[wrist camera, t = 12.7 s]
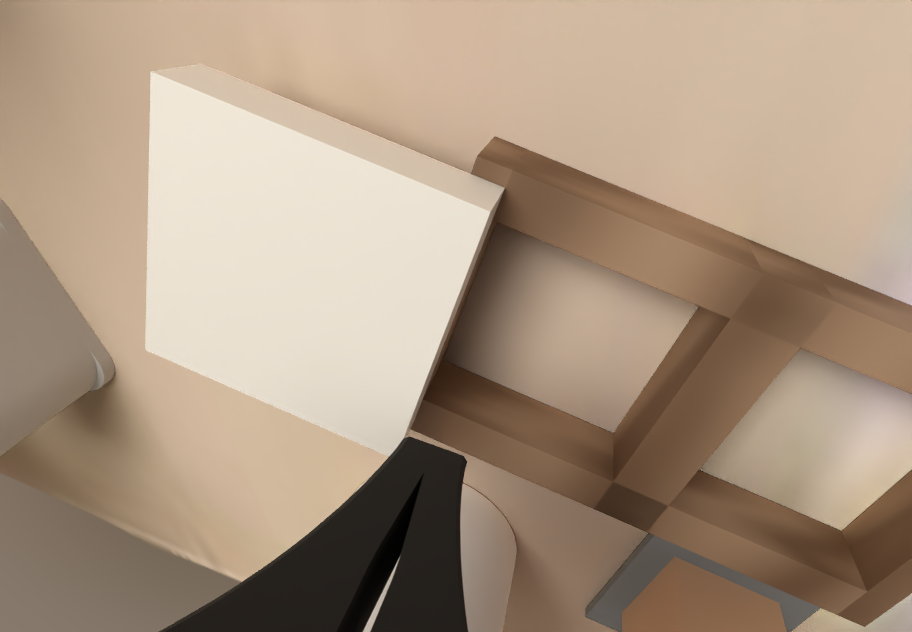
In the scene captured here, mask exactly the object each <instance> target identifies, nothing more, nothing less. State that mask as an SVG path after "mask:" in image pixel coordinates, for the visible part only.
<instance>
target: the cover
mask: <svg viewBox="0 0 912 632" xmlns="http://www.w3.org/2000/svg"><path fill="white" fill-rule="evenodd" d="M504 189H505V188H504V187H501V186H499V185H497V184H494V183H492V182H489V181H487V180H484V179H482V178H480V177H477V176H475V175H472V174H470V173H467V172H465V171H462V170H460V169H458V168H455V167H453V166H450V165H448V164H445V163H443V162H441V161H438V160H436V159H433V158H431V157H428V156H426V155H424V154H421V153H419V152H416V151H414V150H411V149H409V148H406V147H404V146H402V145H399V144H397V143H394V142H392V141H389V140H387V139H385V138H382V137H380V136H377V135H375V134H372V133H370V132H368V131H365V130H363V129H360V128H358V127H355V126H353V125H350V124H348V123H346V122H343V121H341V120H338V119H336V118H333V117H331V116H329V115H326V114H324V113H321V112H319V111H316V110H314V109H312V108H309V107H307V106H304V105H302V104H299V103H297V102H294V101H292V100H290V99H287V98H285V97H282V96H280V95H277V94H275V93H273V92H270V91H268V90H265V89H263V88H260V87H258V86H256V85H253V84H251V83H248V82H246V81H243V80H241V79H238V78H236V77H234V76H231V75H229V74H226V73H224V72H221V71H219V70H217V69H214V68H212V67H209V66H207V65H204V64H195V65H189V66H182V67H176V68H169V69H163V70H156V71H151V85H150V136H149V187H148V238H147V289H146V340H145V350H146V351H149V352H151V353H153V354H155V355H158V356H160V357H162V358H165V359H167V360H169V361H171V362H174V363H176V364H178V365H181V366H183V367H185V368H187V369H190V370H192V371H194V372H196V373H199V374H201V375H203V376H206V377H208V378H210V379H212V380H215V381H217V382H219V383H222V384H224V385H226V386H228V387H231V388H233V389H235V390H237V391H240V392H242V393H244V394H247V395H249V396H251V397H253V398H256V399H258V400H260V401H263V402H265V403H267V404H269V405H272V406H274V407H276V408H279V409H281V410H283V411H285V412H288V413H290V414H292V415H294V416H297V417H299V418H301V419H304V420H306V421H308V422H310V423H313V424H315V425H317V426H320V427H322V428H324V429H326V430H329V431H331V432H333V433H335V434H338V435H340V436H342V437H345V438H347V439H349V440H351V441H354V442H356V443H358V444H361V445H363V446H365V447H367V448H370V449H372V450H374V451H377V452H379V453H381V454H383V455H386V456H388V457H389V456H390V455H391V454H392V453H393V452H394V450H395V449H396V448H397V447H398V445H399V444H400V442H401V441H402V440H403V438H406V437H407V435H408V433H409V431H410V429H411V426H412V424H413V422H414V420H415V418H416V415H417V412H418V410H419V407H420V405H421V402H422V400H423V397H424V394H425V392H426V389H427V387H428V384H429V382H430V379H431V376H432V374H433V371H434V369H435V366H436V364H437V361H438V358H439V356H440V353H441V351H442V348H443V346H444V343H445V340H446V338H447V335H448V333H449V330H450V328H451V325H452V323H453V320H454V317H455V315H456V312H457V310H458V307H459V305H460V302H461V299H462V297H463V294H464V292H465V289H466V287H467V284H468V281H469V279H470V276H471V274H472V271H473V269H474V266H475V263H476V261H477V258H478V256H479V253H480V251H481V248H482V245H483V243H484V240H485V238H486V235H487V233H488V230H489V227H490V225H491V222H492V220H493V217H494V215H495V212H496V209H497V207H498V204H499V202H500V199H501V197H502V194H503V191H504Z"/></svg>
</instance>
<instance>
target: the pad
mask: <svg viewBox="0 0 912 632" xmlns="http://www.w3.org/2000/svg"><path fill="white" fill-rule="evenodd" d="M674 557H677V558H679V559H682V560H684V561H686V562H688V563H691V564H693V565H695V566H697V567H700V568H702V569H704V570H706V571H709V572H711V573H713V574H715V575H717V576H720V577H722V578H724V579H726V580H729V581H731V582H733V583H735V584H738V585H740V586H742V587H744V588H747V589H749V590H751V591H753V592H756V593H758V594H760V595H762V596H765V597H767V598H769V599H771V600H774V601H776V602H778V603H779V604H780V608H781V612H782V616H783V619H784V623H785V627H786V631H787V632H791V631H792V630H793V629H795V628H796V627H797V626H798V625H800V624H801V623H802V622H803V621H805V620H806V619H807V618H808V617H810V616H811V615H812V614H814V613H815V612H816V611H817V610H819V609H820V607H818V606H816V605H813V604H811V603H809V602H806V601H804V600H802V599H800V598H797V597H795V596H793V595H790V594H788V593H786V592H784V591H781V590H779V589H777V588H774V587H772V586H770V585H767V584H765V583H763V582H761V581H758V580H756V579H754V578H751V577H749V576H747V575H744V574H742V573H740V572H738V571H735V570H733V569H731V568H728V567H726V566H724V565H722V564H719V563H717V562H715V561H712V560H710V559H708V558H705V557H703V556H701V555H699V554H696V553H694V552H692V551H689V550H687V549H685V548H682V547H680V546H678V545H676V544H673V543H671V542H669V541H666V540H664V539H662V538H660V537H657V536H655V535H653V534H650V533H649V534H648V535H647V536H646V538H645V539H644V540H643V541H642V542H641V544H640V545H639V546H638V547H637V548H636V550H635V551H634V552H633V553H632V554H631V556H630V557H629V558H628V559H627V560H626V561H625V563H624V564H623V565H622V566H621V567H620V569H619V570H618V571H617V572H616V573H615V575H614V576H613V577H612V578H611V579H610V581H609V582H608V583H607V584H606V585H605V587H604V588H603V589H602V590H601V591H600V592H599V594H598V595H597V596H596V597H595V598H594V600H593V601H592V602H591V603H590V604H589V606H588V607H587V608H586V613H585V617H587V618H589V619H591V620H594V621H596V622H598V623H600V624H603V625H605V626H607V627H609V628H612V629H614V630H616V631H618V632H622V612H623V611H624V610H625V609H626V608H627V607H628V606H629V605H630V603H631V602H632V601H633V600H634V599H635V598H636V597H637V596H638V595H639V594H640V593H641V592H642V591H643V590H644V589H645V588H646V586H647V585H648V584H649V583H650V582H651V581H652V580H653V579H654V578H655V577H656V576H657V575H658V574H659V573H660V572H661V570H662V569H663V568H664V567H665V566H666V565H667V564H668V563H669V562H670V561H671V560H672V559H673V558H674Z"/></svg>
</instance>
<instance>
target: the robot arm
mask: <svg viewBox="0 0 912 632" xmlns="http://www.w3.org/2000/svg"><path fill="white" fill-rule="evenodd" d="M466 464H467V461H466V459H465V458H464V456H462V455H459V454H457V453H454V452H451V451H448V450H445V449H443V448H440V447H437V446H434V445H432V444H429V443H426V442H423V441H420V440H418V439H415V438H412V437H406V438H403V440H402V441H401V442H400V444H399V445H398V447H397V448H396V449H395V450H394V452H393V453H392V454H391V455H390V456H389V458H388V459H387V460H386V461H385V462H384V463H383V464H382V466H381V467H380V468H379V469H378V470H377V471H376V472H375V473H374V474H373V475H372V476H371V477H370V478H369V479H368V480H367V481H366V482H365V483H364V484H363V485H362V486H361V487H360V488H359V489H358V490H357V491H356V492H355V493H354V494H353V495H352V496H351V497H350V498H349V499H348V500H347V501H346V502H345V503H343V504H342V505H341V506H340V507H339V508H338V509H337V510H336V511H334V512H333V513H332V514H331V515H330V516H329V517H327V518H326V519H325V520H324V521H323V522H322V523H320V524H319V525H318V526H317V527H316V528H315V529H313V530H312V531H311V532H310V533H309V534H307V535H306V536H305V537H304V538H302V539H301V540H300V541H299V542H297V543H296V544H295V545H293V546H292V547H291V548H290V549H288V550H287V551H286V552H284V553H283V554H281V555H280V556H279V557H277V558H276V559H275V560H273V561H272V562H271V563H269V564H268V565H266V566H265V567H263V568H262V569H261V570H259V571H258V572H256V573H255V574H253V575H252V576H250V577H249V578H247V579H246V580H244V581H243V582H241V583H240V584H239V585H237V586H235V587H234V588H232V589H231V590H229V591H228V592H226V593H224V594H223V595H221V596H220V597H218V598H216V599H215V600H213V601H212V602H210V603H208V604H206V605H205V606H203V607H201V608H199V609H198V610H196V611H194V612H193V613H191V614H189V615H187V616H186V617H184V618H182V619H181V620H179V621H177V622H175V623H174V624H172V625H171V626H168V627H167V628H165V629H163V630H161V631H159V632H363V630H364V628H365V626H366V624H367V622H368V620H369V618H370V616H371V614H372V612H373V610H374V608H375V606H376V604H377V602H378V600H379V598H380V596H381V594H382V592H383V590H384V588H385V586H386V584H387V582H388V580H389V578H390V575H391V573H392V571H393V569H394V567H395V565H396V563H397V561H398V559H399V561H398V564H397V567H396V570H395V573H394V576H393V578H392V581H391V583H390V585H389V588H388V590H387V593H386V595H385V597H384V600H383V602H382V605H381V607H380V610H379V612H378V614H377V617H376V619H375V622H374V624H373V626H372V629H371V631H370V632H468V626H467V619H466V611H465V602H464V592H463V580H462V566H461V537H460V513H461V495H462V485H463V478H464V472H465V467H466ZM399 557H400V558H399Z"/></svg>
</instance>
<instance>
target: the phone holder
mask: <svg viewBox="0 0 912 632" xmlns="http://www.w3.org/2000/svg"><path fill="white" fill-rule="evenodd" d="M114 373H115V367H114V363H113V360H112V358H111V356H110V355H109V353H108V352H107V350H106V349H105V347H104V346H103V344H102V343H101V341H100V340H99V338H98V337H97V336H96V334H95V333H94V331H93V330H92V328H91V327H90V325H89V324H88V322H87V321H86V320H85V318H84V317H83V315H82V314H81V312H80V311H79V309H78V308H77V306H76V305H75V303H74V302H73V301H72V299H71V298H70V296H69V295H68V293H67V292H66V290H65V289H64V287H63V286H62V284H61V283H60V282H59V280H58V279H57V277H56V276H55V274H54V273H53V271H52V270H51V268H50V267H49V266H48V264H47V263H46V261H45V260H44V258H43V257H42V255H41V254H40V252H39V251H38V249H37V248H36V247H35V245H34V244H33V242H32V241H31V239H30V238H29V236H28V235H27V233H26V232H25V231H24V229H23V228H22V226H21V225H20V223H19V222H18V220H17V219H16V217H15V216H14V214H13V213H12V212H11V210H10V209H9V207H8V206H7V205H6V204H5V203H4V201H3V200H2V199H1V198H0V456H1V455H2V454H4V453H5V452H7V451H8V450H9V449H11V448H12V447H13V446H15V445H16V444H17V443H19V442H20V441H21V440H23V439H24V438H25V437H27V436H28V435H30V434H31V433H32V432H34V431H35V430H36V429H38V428H39V427H40V426H42V425H43V424H44V423H46V422H47V421H48V420H50V419H51V418H53V417H54V416H55V415H57V414H58V413H59V412H61V411H62V410H63V409H65V408H66V407H67V406H69V405H70V404H71V403H73V402H74V401H75V400H77V399H78V398H80V397H81V396H82V395H84V394H85V393H86V392H90V391H95V390H98V389H99V388H101V387H102V386H103V385H105V384H106V383H107V382H109V381H110V380H111V379H112V378H113V376H114Z"/></svg>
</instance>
